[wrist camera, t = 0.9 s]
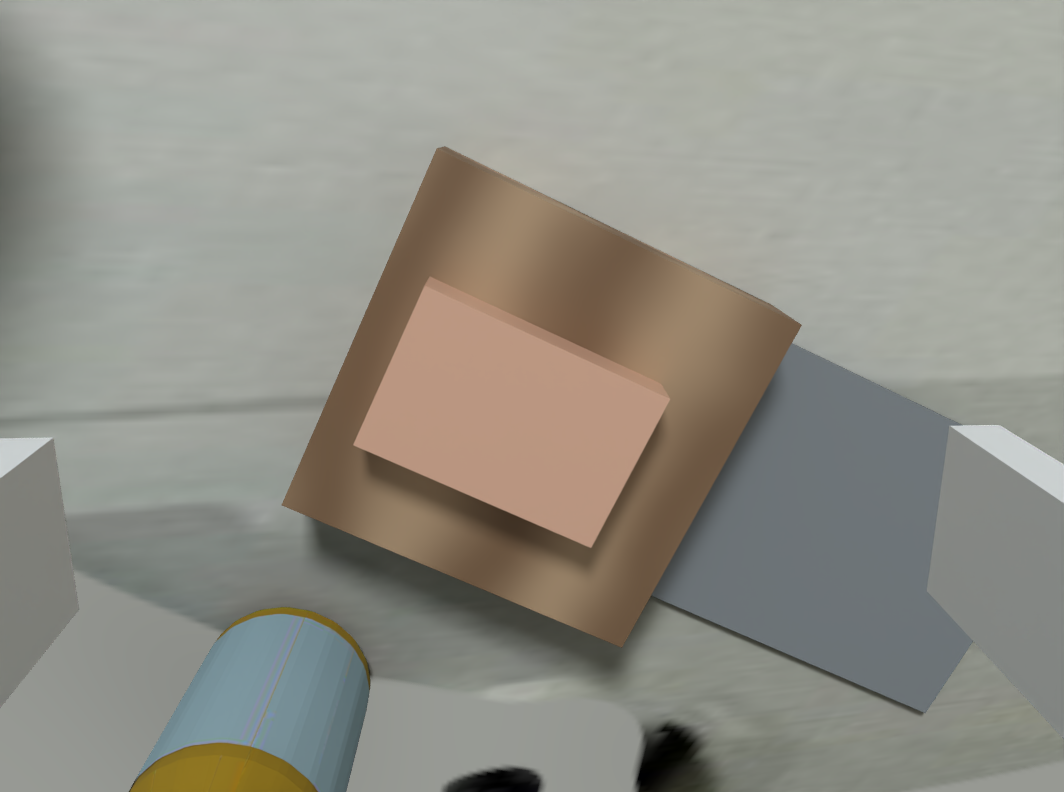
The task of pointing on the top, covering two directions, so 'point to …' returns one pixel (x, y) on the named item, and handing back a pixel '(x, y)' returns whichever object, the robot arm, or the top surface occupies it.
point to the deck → (586, 320)
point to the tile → (511, 413)
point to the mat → (828, 533)
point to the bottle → (266, 711)
